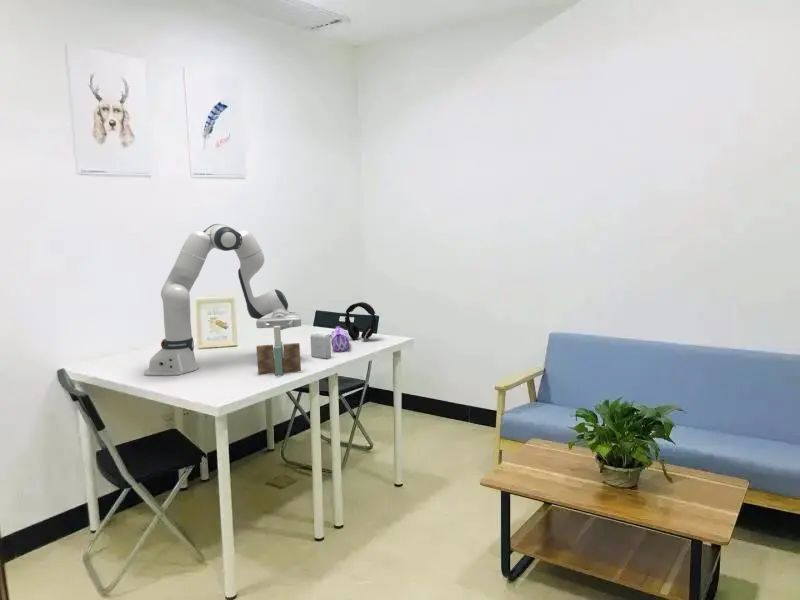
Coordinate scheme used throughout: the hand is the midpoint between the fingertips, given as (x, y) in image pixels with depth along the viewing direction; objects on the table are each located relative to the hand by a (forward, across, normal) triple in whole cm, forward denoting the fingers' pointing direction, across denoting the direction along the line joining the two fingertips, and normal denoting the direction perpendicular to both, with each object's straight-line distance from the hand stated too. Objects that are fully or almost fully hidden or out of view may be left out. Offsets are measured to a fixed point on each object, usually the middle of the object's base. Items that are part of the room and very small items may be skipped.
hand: (278, 325), depth 276 cm
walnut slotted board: (+12, 0, +18) cm, 22 cm away
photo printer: (-11, +18, +18) cm, 28 cm away
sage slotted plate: (+12, 0, +18) cm, 22 cm away
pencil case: (-29, +28, +18) cm, 44 cm away
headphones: (-43, +40, +18) cm, 62 cm away
